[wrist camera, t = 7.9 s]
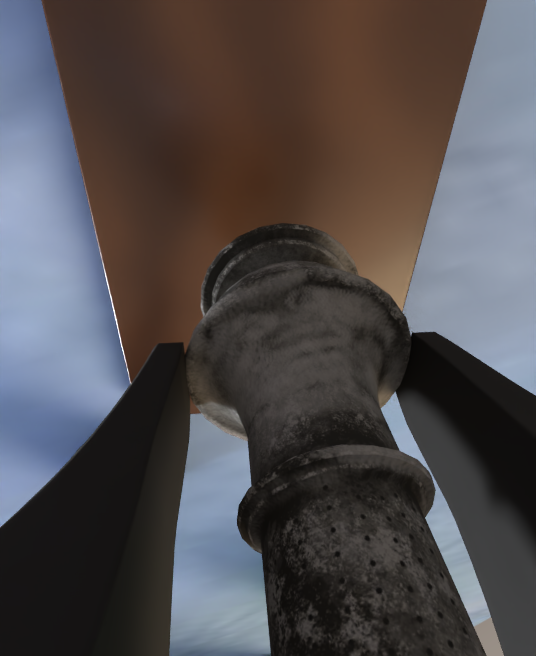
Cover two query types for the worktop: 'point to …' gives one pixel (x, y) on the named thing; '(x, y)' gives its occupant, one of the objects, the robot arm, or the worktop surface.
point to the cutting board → (254, 135)
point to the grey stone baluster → (323, 449)
